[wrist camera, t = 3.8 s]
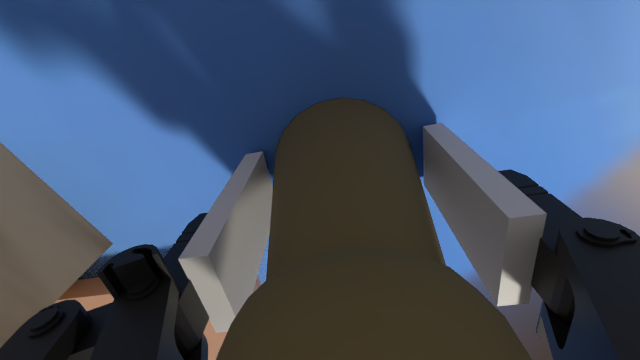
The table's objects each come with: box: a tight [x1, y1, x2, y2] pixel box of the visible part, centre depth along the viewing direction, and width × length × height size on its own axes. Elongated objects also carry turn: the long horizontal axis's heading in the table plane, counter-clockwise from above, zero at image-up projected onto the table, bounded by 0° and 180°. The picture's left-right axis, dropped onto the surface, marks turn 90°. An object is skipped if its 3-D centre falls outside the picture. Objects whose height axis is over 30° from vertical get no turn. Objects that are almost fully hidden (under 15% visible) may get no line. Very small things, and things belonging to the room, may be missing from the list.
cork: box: [216, 98, 531, 360], centre depth 8 cm, size 6×6×11 cm
